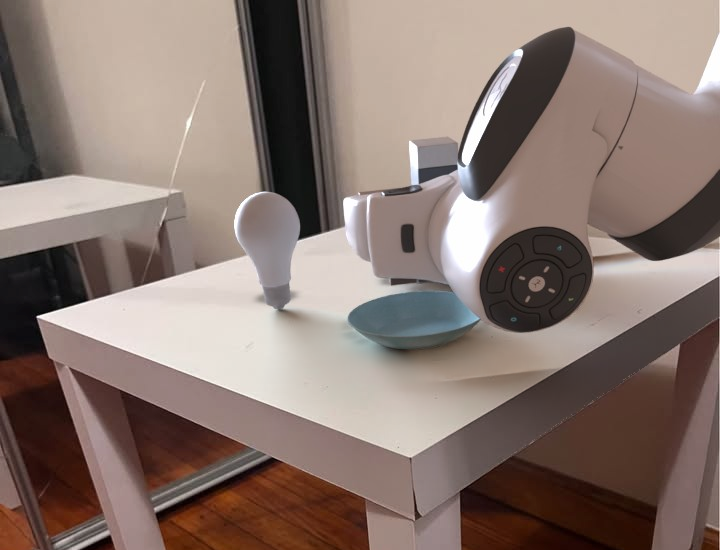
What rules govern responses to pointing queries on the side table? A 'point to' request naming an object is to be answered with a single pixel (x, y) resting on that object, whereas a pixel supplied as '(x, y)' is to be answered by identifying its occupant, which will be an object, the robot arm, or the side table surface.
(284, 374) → the side table surface
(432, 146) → the two-tone tall pillar
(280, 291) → the lightbulb
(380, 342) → the saucer
